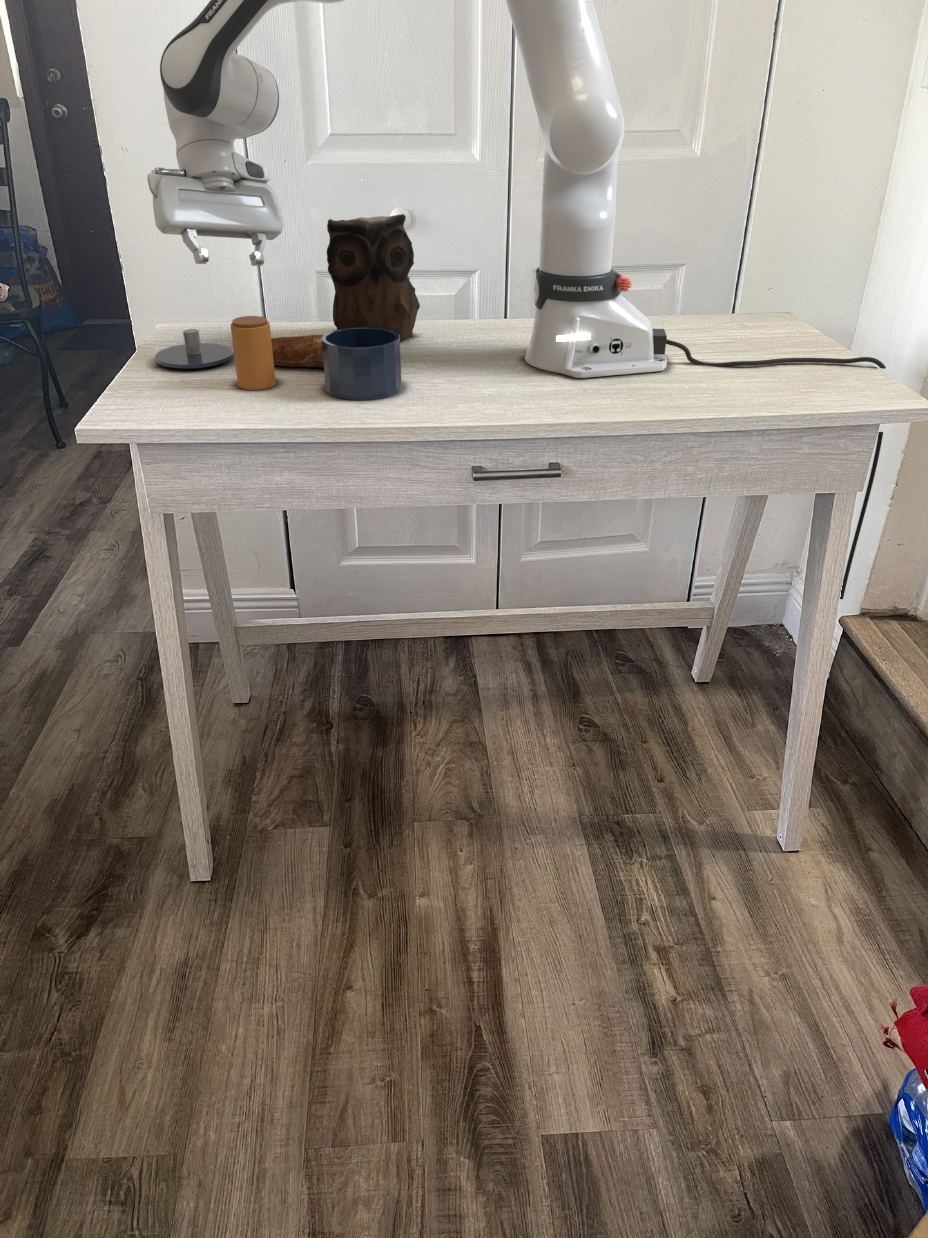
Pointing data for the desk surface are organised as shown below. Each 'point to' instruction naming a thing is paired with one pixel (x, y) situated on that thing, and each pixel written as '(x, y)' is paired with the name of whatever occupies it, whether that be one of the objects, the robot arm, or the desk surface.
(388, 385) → the pot
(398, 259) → the owl
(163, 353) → the pot lid
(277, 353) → the bread
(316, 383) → the desk surface
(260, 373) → the tall brown tube
